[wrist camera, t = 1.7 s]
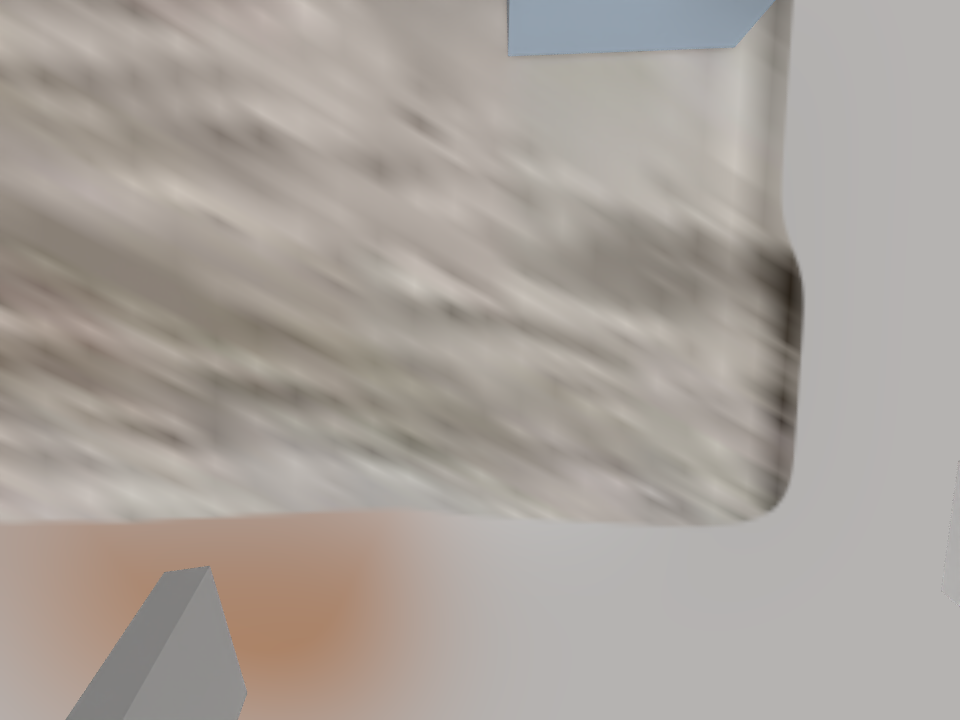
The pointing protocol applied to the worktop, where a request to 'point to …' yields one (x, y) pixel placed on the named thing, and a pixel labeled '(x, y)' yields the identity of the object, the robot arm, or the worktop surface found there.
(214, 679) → the robot arm
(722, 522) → the worktop surface
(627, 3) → the tall blue prism
